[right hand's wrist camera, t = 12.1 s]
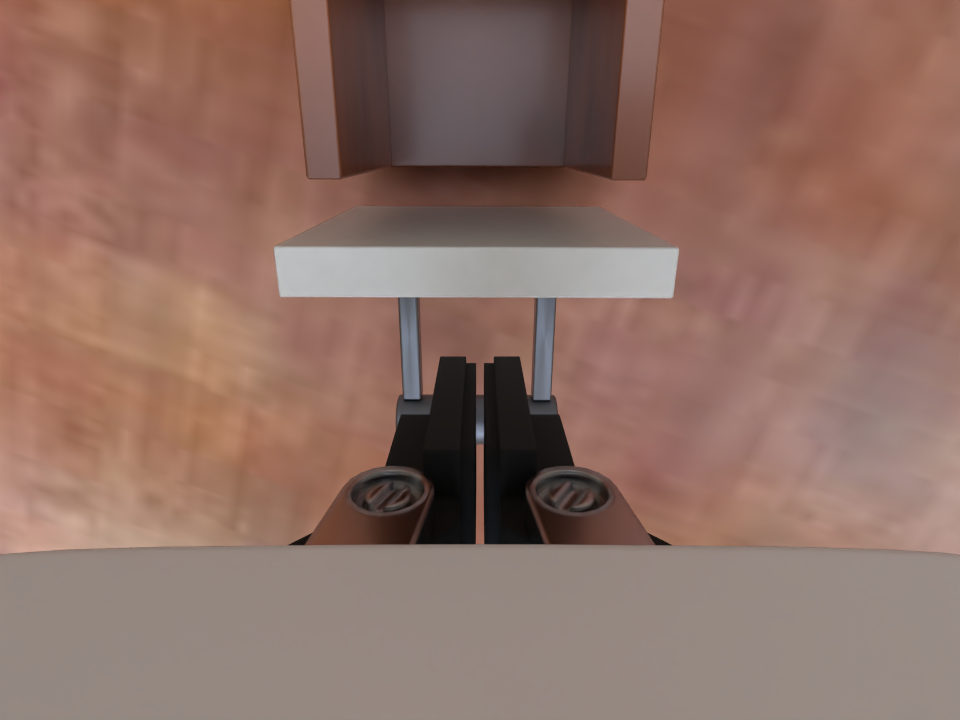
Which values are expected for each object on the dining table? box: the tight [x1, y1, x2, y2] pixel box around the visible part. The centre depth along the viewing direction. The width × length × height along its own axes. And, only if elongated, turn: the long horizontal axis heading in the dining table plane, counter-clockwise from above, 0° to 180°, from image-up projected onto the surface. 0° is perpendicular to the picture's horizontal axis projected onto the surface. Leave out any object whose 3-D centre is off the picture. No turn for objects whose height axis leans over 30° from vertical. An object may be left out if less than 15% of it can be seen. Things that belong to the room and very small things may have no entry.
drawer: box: [274, 0, 679, 444], centre depth 16 cm, size 24×9×9 cm, turn 0°
